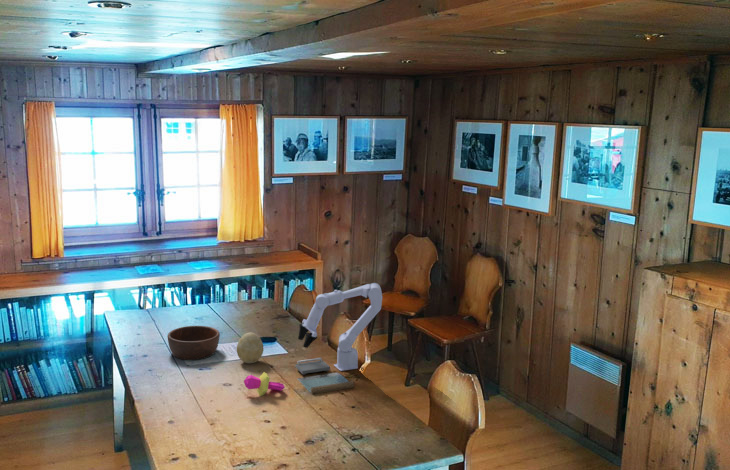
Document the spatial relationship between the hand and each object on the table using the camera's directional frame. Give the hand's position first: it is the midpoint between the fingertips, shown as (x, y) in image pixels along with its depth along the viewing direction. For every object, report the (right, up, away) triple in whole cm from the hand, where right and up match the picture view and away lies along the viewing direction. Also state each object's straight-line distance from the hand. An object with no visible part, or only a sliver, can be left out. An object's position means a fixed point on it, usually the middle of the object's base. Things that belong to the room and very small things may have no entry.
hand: (302, 343), depth 323 cm
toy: (-14, -17, -30) cm, 37 cm away
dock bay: (+11, -16, -16) cm, 26 cm away
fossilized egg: (-26, -10, +4) cm, 28 cm away
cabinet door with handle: (+5, -13, -4) cm, 14 cm away
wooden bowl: (-55, -7, +14) cm, 57 cm away
